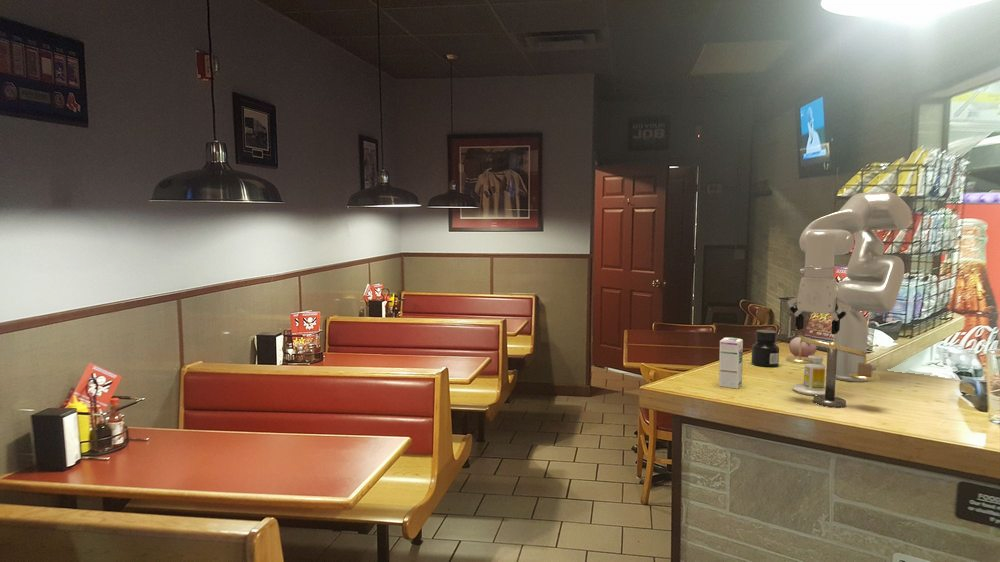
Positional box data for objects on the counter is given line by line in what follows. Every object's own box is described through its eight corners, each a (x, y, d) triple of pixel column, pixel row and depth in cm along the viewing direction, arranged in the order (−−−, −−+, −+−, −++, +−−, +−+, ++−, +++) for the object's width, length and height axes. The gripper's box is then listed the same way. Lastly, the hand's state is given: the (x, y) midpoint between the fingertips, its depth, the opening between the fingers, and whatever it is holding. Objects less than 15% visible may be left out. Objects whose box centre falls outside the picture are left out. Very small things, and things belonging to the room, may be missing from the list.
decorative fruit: (783, 358, 228) (784, 332, 227) (804, 358, 229) (805, 331, 228) (798, 364, 219) (799, 336, 218) (819, 363, 220) (821, 336, 219)
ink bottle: (778, 368, 211) (779, 334, 210) (750, 366, 215) (751, 332, 214) (778, 363, 220) (780, 330, 219) (752, 360, 224) (753, 328, 223)
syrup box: (738, 389, 185) (740, 341, 183) (717, 386, 188) (719, 339, 186) (742, 385, 189) (743, 338, 188) (722, 382, 192) (723, 336, 191)
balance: (784, 394, 179) (787, 333, 177) (876, 405, 168) (880, 340, 167) (783, 401, 172) (786, 337, 170) (878, 413, 161) (883, 345, 159)
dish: (813, 385, 189) (813, 382, 189) (842, 395, 178) (843, 392, 178) (783, 388, 185) (784, 385, 185) (812, 398, 175) (812, 394, 175)
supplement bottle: (800, 388, 182) (802, 356, 181) (807, 385, 185) (809, 354, 185) (819, 392, 178) (821, 359, 177) (826, 388, 182) (828, 356, 181)
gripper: (783, 272, 183) (781, 329, 185) (846, 276, 170) (844, 337, 172) (794, 270, 188) (792, 325, 190) (856, 274, 175) (853, 333, 177)
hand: (817, 331), depth 181 cm, fingers open, 9 cm apart
